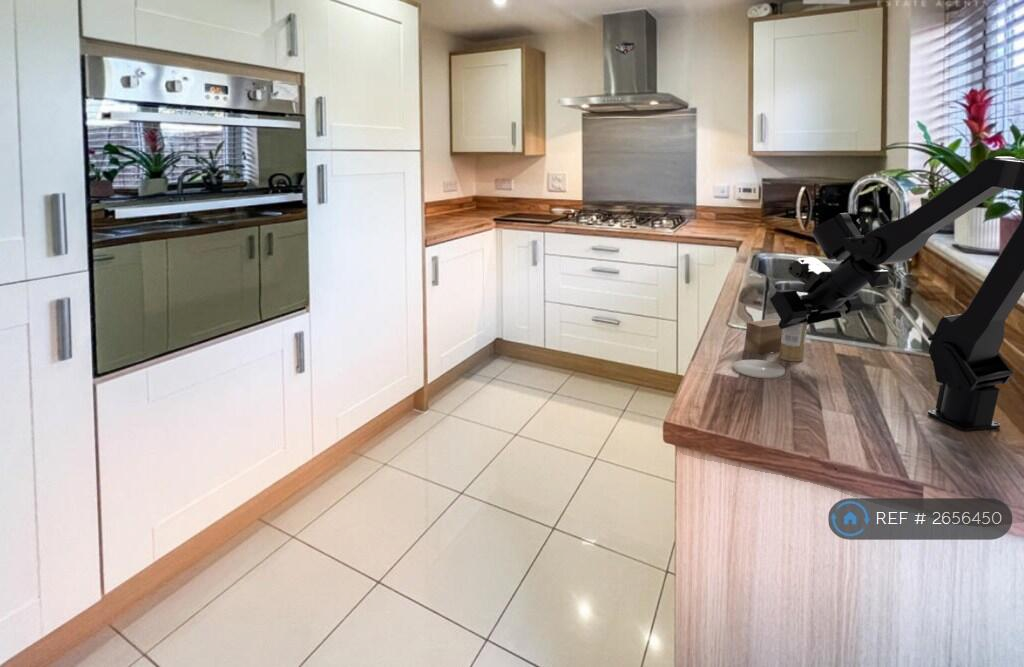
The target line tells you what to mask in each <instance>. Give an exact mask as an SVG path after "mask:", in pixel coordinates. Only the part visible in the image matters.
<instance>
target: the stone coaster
mask: <svg viewBox="0 0 1024 667" xmlns="http://www.w3.org/2000/svg"><path fill="white" fill-rule="evenodd" d="M733 370H734V371H735V372H736V373H739V374H741V375H744V376H747V377H751V378H759V379H775V378H780V377H783V376H784V375H785V372H786V369H785V367H784V366H782V365H780V364H778V363H776V362H773V361H767V360H762V359H742V360H738V361H737V360H736V362H734V364H733Z"/></svg>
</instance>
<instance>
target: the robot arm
mask: <svg viewBox="0 0 1024 667" xmlns="http://www.w3.org/2000/svg"><path fill="white" fill-rule="evenodd" d="M1004 189H1006V190H1011V191H1020V192H1024V158H1023V159H1022V158H1021V159H1020V158H1017V157H1013V156H992V157H987V158H986V159H984V160H982V161H980V162H979V163H978V164H977V165H976V166H975V168H973V169H972V170H971V171H969V172H968V173H966V174H965V175H964V176H962V177H960V178H959V179H958V180H956V181H955V182H953V183H952V184H950V185H949V186H948V187H946V188H945V189H943V190H942V191H940V192H939V193H938V194H936V195H935V196H933V197H932V198H931V199H929V200H928V201H927V202H925V203H923V204H922V205H921V206H919V207H918V208H916V209H915V210H914V211H912V212H911V213H910V214H907V215H905V216H904V217H901V218H898V219H896V220H892V221H890V222H887V223H885V224H883V225H880V226H878V227H875V229H872V230H870V231H868V232H866V234H861V232H860V231H859V229H858V228H857V227H856V225H855V224H854V221H853V219H852V217H851V216H850V214H849V213H848V212H843V213H842V212H841V213H838V214H837V215H835V217H832V218H829V219H827V220H824V221H823V222H822V223H819V224H817V225H816V226H815V227H814V228H813V229H812V232H811V235H812V237H813V238H814V240H815V242H816V243H817V244H818V245H819V247H820V250H821V251H822V252H823V254H824V256H825V258H826V259H827V260H831V261H832V260H835V261H836V262H840V263H838V265H836V266H835V267H834V268H833V269H830V268H829V267H828V265H826V264H825V263H823V262H822V261H821V260H819V259H818V258H816V257H813V256H812V257H811V256H809V257H800V258H798V259H794V261H793V262H791V263H789V266H788V268H787V272H788V273H789V275H791V277H793V278H794V279H796V280H797V279H798V280H799V281H800V282H801V283H803V285H802V287H801V288H802V289H803V291H804V293H808V294H807V295H802V296H801V298H802V300H801V299H800V297H799V295H798V293H797V292H798V291H797V290H795V289H789V288H788V289H781V290H776V291H775V292H774V293H772V294H771V295H770V297H769V301H770V302H771V304H772V305H773V308H774V309H775V311H776V313H777V316H778V317H779V319H781V320H780V322H779V324H778V325H779V327H780V329H784V328H788V327H792V326H795V325H799V324H803V323H807V326H808V325H809V326H810V325H813V324H818V323H822V322H827V321H831V320H835V319H840V318H842V314H841V312H840V311H841V310H842V309H843V307H842V305H843V304H844V305H845V307H846V308H847V309H846V310H845V311H844V315H845V316H846V317H849V316H856V315H857V314H859V313H860V312H861V311H863V310H864V304H865V303H864V301H863V299H862V297H861V296H860V295H859V294H858V292H859V291H861V290H862V289H864V288H865V287H867V286H868V285H870V287H871V288H879V287H887V286H889V285H890V284H889V283H890V281H889V280H890V279H889V274H890V271H889V270H884V269H883V268H882V267H881V266H882V265H893V264H901V263H902V264H903V263H905V262H907V261H909V260H910V259H911V258H913V257H915V255H916V254H917V253H918V252H920V251H921V250H922V249H923V248H924V247H925V246H926V244H927V242H928V240H929V239H930V238H931V237H932V236H933V235H934V234H935V233H937V232H938V231H939V230H941V229H943V228H945V227H946V226H948V225H949V224H951V223H952V222H954V221H955V220H956V221H957V219H958V218H960V217H962V216H963V215H965V214H966V213H969V211H971V210H972V209H974V208H976V207H977V206H979V205H980V204H982V203H984V202H986V201H987V200H989V199H990V198H991V197H993V196H995V195H996V194H998V193H999V192H1001V191H1002V190H1004ZM1021 200H1022V203H1021V204H1022V205H1021V219H1020V221H1019V223H1018V225H1017V226H1016V228H1015V229H1014V231H1013V233H1012V235H1011V236H1010V238H1009V239H1008V241H1007V242H1006V245H1004V248H1003V249H1002V250H1001V252H1000V254H999V256H998V257H997V259H996V261H995V262H994V264H993V266H992V267H991V269H990V270H989V272H988V274H987V275H986V276H985V278H984V280H983V281H982V284H981V285H980V287H979V288H978V290H977V291H976V293H975V294H974V296H973V298H972V299H971V301H970V303H969V304H968V306H967V308H966V309H965V310H964V311H963V312H961V314H954V315H946V316H942V317H941V318H940V320H939V321H938V323H937V326H936V329H935V331H934V332H933V334H932V335H930V336H929V337H928V338H927V340H928V341H930V343H929V346H928V350H927V353H928V354H929V356H930V359H931V361H932V364H933V370H934V375H935V380H936V382H937V383H940V385H939V390H938V395H937V400H936V404H935V409H933V410H932V409H931V410H928V411H927V415H929V416H931V417H933V418H936V419H937V420H940V421H942V422H944V423H946V424H949V426H952V427H954V428H956V429H959V430H961V431H963V432H965V431H967V432H968V431H977V430H979V431H980V430H987V429H990V430H991V429H999V428H1001V423H1000V422H999V423H998V422H997V421H994V415H995V410H996V407H997V402H998V398H999V394H1000V390H1001V389H1000V388H998V387H996V386H997V385H1001V384H1002V385H1005V384H1007V382H1008V381H1009V380H1010V379H1011V377H1012V376H1013V375H1014V370H1012V368H1011V367H1010V366H1009V364H1008V363H1007V361H1006V360H1005V359H1004V357H1003V356H1002V355H1001V354H1000V350H1001V347H1002V344H1003V342H1004V339H1005V322H1006V321H1007V318H1008V317H1009V315H1010V314H1011V313H1012V311H1013V309H1014V308H1015V306H1016V305H1017V303H1018V302H1019V300H1020V299H1021V297H1022V296H1023V294H1024V194H1023V196H1022V199H1021ZM807 315H808V320H807V318H806V317H807Z"/></svg>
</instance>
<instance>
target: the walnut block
mask: <svg viewBox="0 0 1024 667" xmlns="http://www.w3.org/2000/svg"><path fill="white" fill-rule="evenodd" d="M780 320H781V319H780V318H770V319H769V318H768V319H762V320H761V319H760V320H755V321H748V322H747V323H746V329H745V330H746V332H745V338H744V339H745V342H744V349H746V350H745V351H747V350H749V351H748V352H750V351H751V352H750V353H752V352H753V353H752V354H755V353H756V355H757V354H761V355H765V353H767V354H771V352H774V353H777V352H776V351H780V348H781V337H782V329H780V327H779V325H778V324H779V322H780Z"/></svg>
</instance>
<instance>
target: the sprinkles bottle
mask: <svg viewBox="0 0 1024 667" xmlns="http://www.w3.org/2000/svg"><path fill="white" fill-rule="evenodd" d="M796 292H797V293H798V295H799V297H800V299H801V300H802V298H801V296H802V295H807V294H808V293H807V292H805V291H804V292H801V291H796ZM806 318H807V320H808V315H807V317H806ZM807 327H808V325H807V323H803V324H799V325H795V326H792V327H788V328H784V329H782V337H781V348H780V352H779V354H778V357H779V359H781V360H783V361H786V362H794V363H795V362H801V361H803V360H804V354H805V353H804V351H805V346H806V345H805V344H806V339H807Z"/></svg>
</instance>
